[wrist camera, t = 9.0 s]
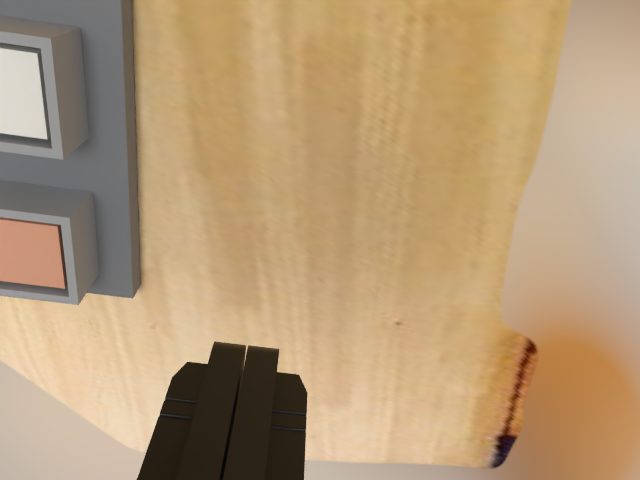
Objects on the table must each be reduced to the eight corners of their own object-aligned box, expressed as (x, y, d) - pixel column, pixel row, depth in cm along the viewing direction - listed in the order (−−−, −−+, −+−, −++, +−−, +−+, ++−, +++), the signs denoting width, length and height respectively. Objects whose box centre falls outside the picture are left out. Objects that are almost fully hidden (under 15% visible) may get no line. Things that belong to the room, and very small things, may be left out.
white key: (-35, 33, 31) (-57, 40, 29) (53, 46, 31) (37, 53, 29) (-20, 117, 33) (-39, 127, 32) (61, 128, 34) (47, 139, 32)
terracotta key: (-5, 203, 36) (-22, 216, 35) (70, 212, 37) (57, 226, 35) (6, 264, 39) (-9, 279, 37) (76, 272, 39) (64, 288, 37)
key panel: (-69, -37, 32) (-145, -31, 27) (131, -6, 33) (95, 6, 28) (-10, 265, 43) (-55, 311, 38) (140, 283, 44) (115, 330, 39)
